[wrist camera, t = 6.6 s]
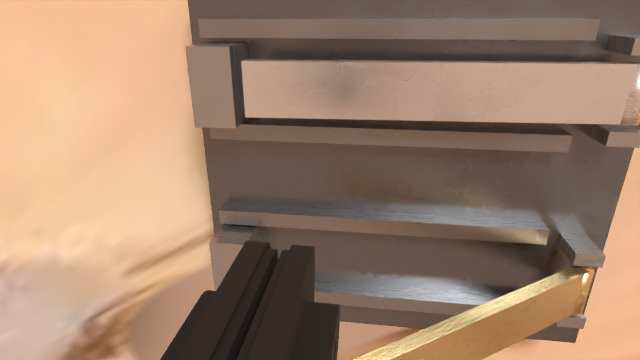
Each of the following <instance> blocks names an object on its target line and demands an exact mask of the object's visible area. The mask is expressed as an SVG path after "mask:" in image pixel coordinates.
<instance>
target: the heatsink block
mask: <svg viewBox="0 0 640 360" xmlns="http://www.w3.org/2000/svg"><path fill="white" fill-rule="evenodd" d="M188 7H189V15H190V24H191V33H192V41H193V45H189V46H185V47H186V56H187V64H188V72H189V80H190V88H191V97H192V105H193V113H194V121H195V127H202V128H203V137H204V145H205V154H206V163H207V171H208V180H209V189H210V197H211V206H212V215H213V223H214V232H215V235H214V237H213V238H212V240H211V241H210V242H209V244H210V252H211V260H212V268H213V276H214V285H215V291H216V290H217V289H218V287H219V285H220V284H221V282H222V280H223V279H224V277H225V275H226V274H227V272H228V270H229V268H230V267H231V265H232V263H233V262H234V260H235V258H236V257H237V255H238V253H239V252H240V250H241V248H242V247H243V245H244V243H245V242H246V241H248V240H249V241H260V242H269V243H270V246H271V249H277V251H278V259H279V257H280V255H281V252H282V250H290V247H291V245H303V246H314V247H315V288H314V302H320V303H330V304H339V305H340V321H345V322H355V323H366V324H378V325H388V326H398V327H409V328H420V329H425V328H428V327H430V326H433V325H435V324H437V323H440V322H442V321H444V320H447V319H449V318H452V317H454V316H456V315H459V314H461V313H463V312H466V311H468V310H471V309H473V308H475V307H478V306H480V305H482V304H485V303H487V302H490V301H492V300H494V299H497V298H499V297H501V296H504V295H506V294H509V293H511V292H513V291H516V290H518V289H520V288H523V287H525V286H528V285H530V284H532V283H535V282H537V281H539V280H542V279H544V278H546V277H549V276H551V275H554V274H556V273H558V272H561V271H563V270H565V269H568V268H570V267H571V265H574V266H588V267H592V268H593V269H594V275H593V278H592V282H591V285H590V288H589V292H588V295H587V298H586V301H585V305H584V308H583V311H582V313H581V314H579V315H574V314H573V315H571V316H569V317H567V318H564V319H562V320H560V321H558V322H556V323H554V324H552V325H550V326H548V327H546V328H544V329H542V330H540V331H538V332H536V333H534V334H532V335H530V336H528V337H526V338H528V339H539V340H550V341H561V342H571V343H575V341H576V338H577V335H578V331H579V328H580V329H583V328H584V325H585V321H586V318H585V316H584V312H585V308H586V305H587V302H588V298H589V295H590V292H591V289H592V285H593V282H594V279H595V275H596V272H597V269H598V267H602V266H603V263H604V260H605V255H604V254H603V249H604V246H605V242H606V239H607V236H608V232H609V229H610V226H611V223H612V219H613V216H614V213H615V209H616V206H617V203H618V199H619V196H620V193H621V190H622V186H623V183H624V180H625V176H626V173H627V170H628V166H629V163H630V160H631V157H632V153H633V150H634V148H639V146H640V131H639V130H640V122H639V125H637V126H627V125H617V124H565V123H513V122H461V121H409V120H357V119H305V118H253V117H245V107H244V93H243V80H242V66H241V61H242V60H245V59H271V60H405V61H539V62H640V0H188Z"/></svg>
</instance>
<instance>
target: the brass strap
mask: <svg viewBox="0 0 640 360" xmlns="http://www.w3.org/2000/svg"><path fill="white" fill-rule="evenodd" d="M593 275H594V269H593V268H592V267H588V266H574V265H571V267H570V268H568V269H565V270H563V271H561V272H558V273H556V274H554V275H551V276H549V277H546V278H544V279H542V280H539V281H537V282H535V283H532V284H530V285H528V286H525V287H523V288H520V289H518V290H516V291H513V292H511V293H509V294H506V295H504V296H501V297H499V298H497V299H494V300H492V301H490V302H487V303H485V304H482V305H480V306H478V307H475V308H473V309H471V310H468V311H466V312H463V313H461V314H459V315H456V316H454V317H452V318H449V319H447V320H444V321H442V322H440V323H437V324H435V325H433V326H430V327H428V328H425V329H423V330H421V331H418V332H416V333H414V334H411V335H409V336H406V337H404V338H402V339H399V340H397V341H395V342H392V343H390V344H388V345H385V346H383V347H380V348H378V349H376V350H373V351H371V352H369V353H366V354H364V355H361V356H359V357H357V358H354V359H352V360H482V359H484V358H486V357H488V356H490V355H492V354H494V353H496V352H498V351H500V350H502V349H504V348H506V347H508V346H510V345H512V344H514V343H516V342H518V341H520V340H522V339H524V338H526V337H528V336H530V335H532V334H534V333H536V332H538V331H540V330H542V329H544V328H546V327H548V326H550V325H552V324H554V323H556V322H558V321H560V320H562V319H564V318H567V317H569V316H571V315H573V314H574V315H579V314H581V313H582V311H583V308H584V305H585V301H586V298H587V295H588V292H589V288H590V285H591V282H592V278H593Z"/></svg>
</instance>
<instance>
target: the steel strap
mask: <svg viewBox="0 0 640 360" xmlns="http://www.w3.org/2000/svg"><path fill="white" fill-rule="evenodd" d="M241 66H242V80H243V93H244V107H245V117H253V118H305V119H357V120H409V121H461V122H513V123H565V124H617V125H627V126H637V125H639V122H640V62H539V61H405V60H271V59H245V60H242V61H241Z"/></svg>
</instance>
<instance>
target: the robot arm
mask: <svg viewBox="0 0 640 360" xmlns="http://www.w3.org/2000/svg"><path fill="white" fill-rule="evenodd" d="M314 288H315V247H314V246H303V245H291V247H290V250H282V252H281V255H280V257H279V259H278V251H277V249H271V246H270V243H269V242H260V241H249V240H248V241H246V242H245V243H244V245H243V247H242V248H241V250H240V252H239V253H238V255H237V257H236V258H235V260H234V262H233V263H232V265H231V267H230V268H229V270H228V272H227V274H226V275H225V277H224V279H223V280H222V282H221V284H220V285H219V287H218V289H217V290H216V291H210V290H207V291H205V292H204V293H203V294H202V295H201V297H200V298H199V300H198V302H197V303H196V305H195V306H194V308H193V309H192V311H191V312H190V314H189V316H188V317H187V319H186V320H185V322H184V324H183V325H182V327H181V328H180V330H179V331H178V333H177V334H176V336H175V338H174V339H173V341H172V342H171V344H170V345H169V347H168V349H167V350H166V352H165V353H164V355H163V356H162V358H161V360H337V351H338V339H339V321H340V305H339V304H330V303H320V302H314Z"/></svg>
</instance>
